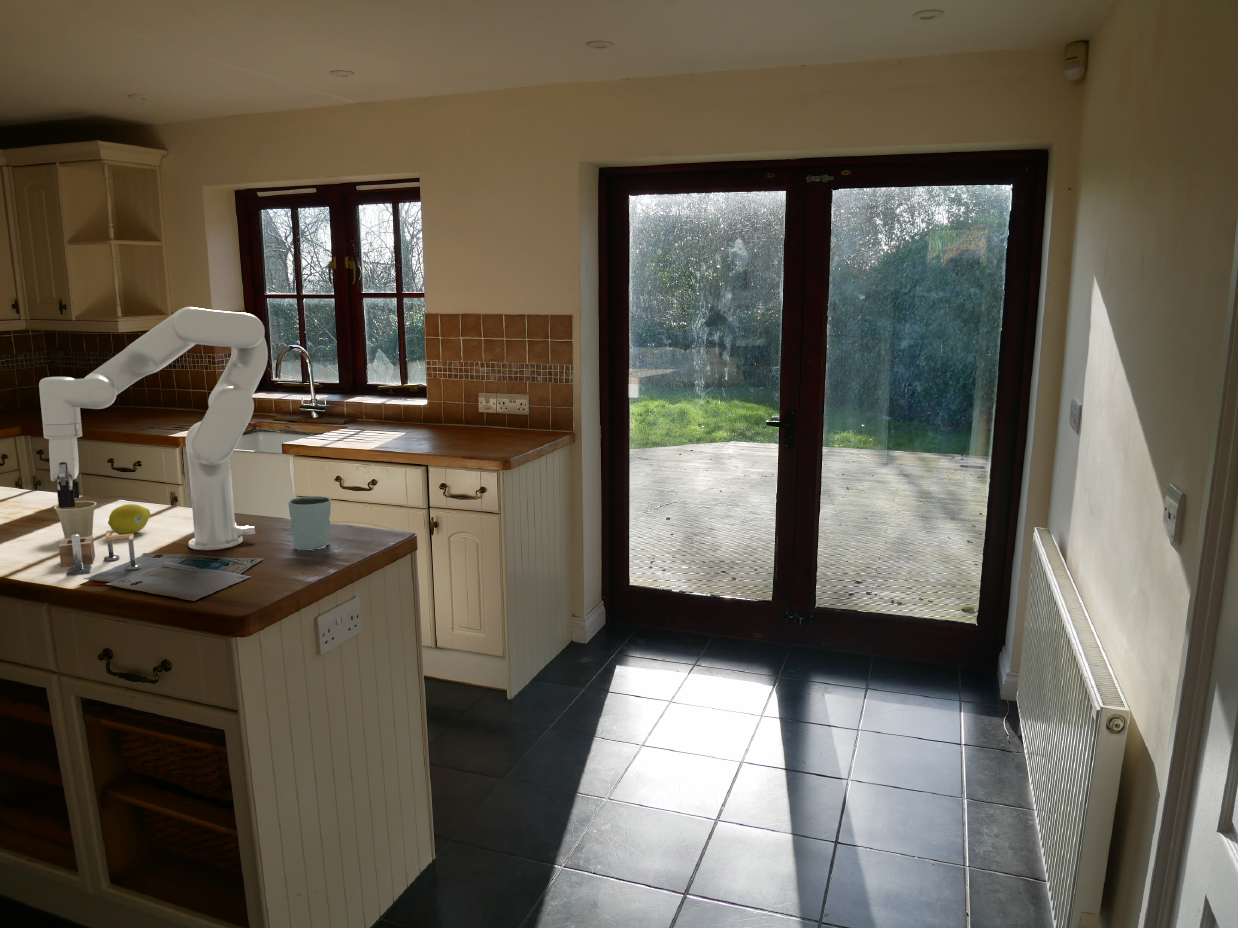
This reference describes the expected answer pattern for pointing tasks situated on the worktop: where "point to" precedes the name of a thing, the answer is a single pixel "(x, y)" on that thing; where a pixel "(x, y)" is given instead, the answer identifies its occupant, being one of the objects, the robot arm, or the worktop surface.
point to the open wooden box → (67, 551)
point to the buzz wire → (116, 557)
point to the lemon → (128, 519)
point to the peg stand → (77, 558)
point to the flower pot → (77, 519)
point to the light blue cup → (310, 521)
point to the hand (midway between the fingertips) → (69, 502)
